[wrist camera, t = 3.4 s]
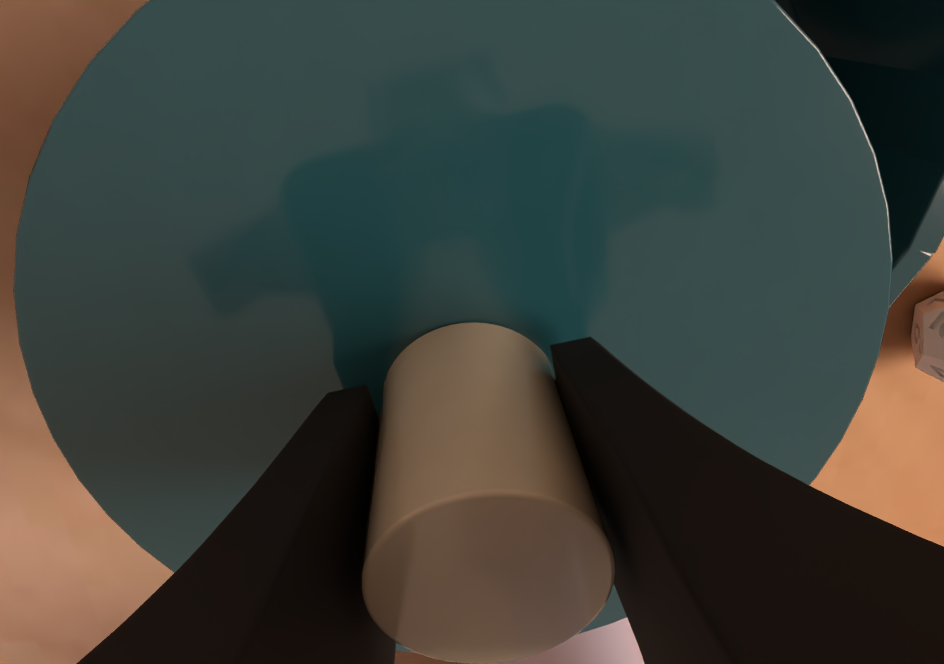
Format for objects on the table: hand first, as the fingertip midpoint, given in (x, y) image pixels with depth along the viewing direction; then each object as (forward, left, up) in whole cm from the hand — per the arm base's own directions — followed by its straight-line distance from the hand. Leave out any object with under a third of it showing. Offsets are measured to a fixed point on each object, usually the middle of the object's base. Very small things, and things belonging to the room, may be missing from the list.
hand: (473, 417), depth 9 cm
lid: (0, 0, -1) cm, 1 cm away
